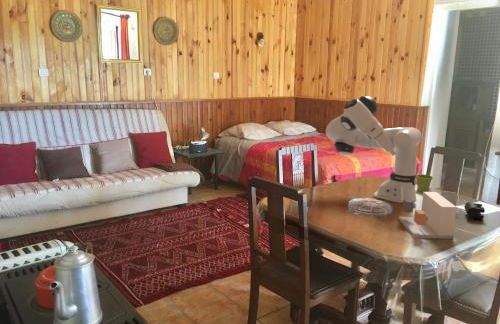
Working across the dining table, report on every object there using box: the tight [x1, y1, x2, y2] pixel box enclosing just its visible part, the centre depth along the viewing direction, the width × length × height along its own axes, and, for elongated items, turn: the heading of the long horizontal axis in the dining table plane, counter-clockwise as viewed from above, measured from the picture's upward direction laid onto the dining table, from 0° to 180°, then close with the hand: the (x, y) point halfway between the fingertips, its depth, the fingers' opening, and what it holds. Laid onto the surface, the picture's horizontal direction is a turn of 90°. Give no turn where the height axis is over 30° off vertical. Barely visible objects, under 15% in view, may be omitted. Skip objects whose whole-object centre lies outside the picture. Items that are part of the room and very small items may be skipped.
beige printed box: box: [440, 190, 458, 207], centre depth 208 cm, size 4×7×10 cm, turn 56°
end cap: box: [464, 200, 486, 222], centre depth 199 cm, size 10×7×7 cm
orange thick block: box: [413, 209, 428, 225], centre depth 175 cm, size 4×5×5 cm
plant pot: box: [416, 173, 434, 193], centre depth 244 cm, size 9×9×9 cm
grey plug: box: [402, 199, 417, 214], centre depth 191 cm, size 4×5×5 cm
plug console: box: [398, 191, 458, 240], centre depth 183 cm, size 16×22×14 cm
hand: (391, 152), depth 188 cm, fingers open, 8 cm apart
